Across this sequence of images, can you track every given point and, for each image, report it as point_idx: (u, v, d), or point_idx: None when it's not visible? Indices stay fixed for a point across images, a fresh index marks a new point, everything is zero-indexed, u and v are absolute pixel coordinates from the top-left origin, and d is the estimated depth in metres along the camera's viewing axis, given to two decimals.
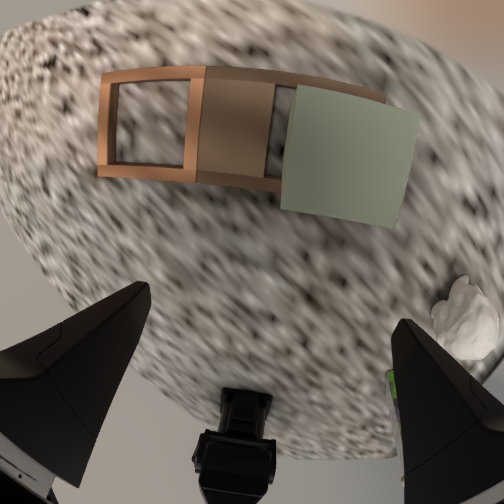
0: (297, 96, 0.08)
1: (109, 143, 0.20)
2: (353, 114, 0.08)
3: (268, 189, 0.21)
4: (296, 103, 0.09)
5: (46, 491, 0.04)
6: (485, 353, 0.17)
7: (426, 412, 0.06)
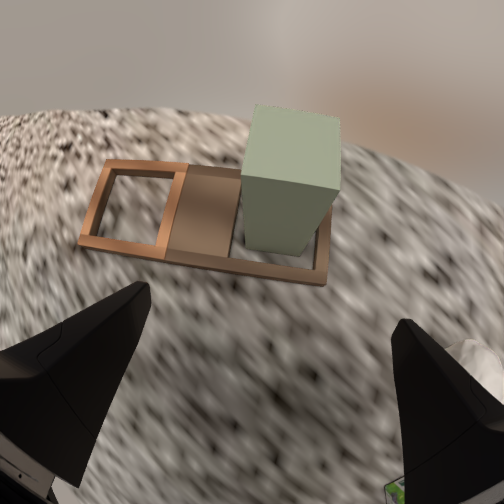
0: (254, 110, 0.14)
1: (95, 217, 0.24)
2: (292, 118, 0.13)
3: (231, 268, 0.22)
4: (254, 114, 0.14)
5: (46, 491, 0.04)
6: (498, 392, 0.13)
7: (426, 412, 0.06)
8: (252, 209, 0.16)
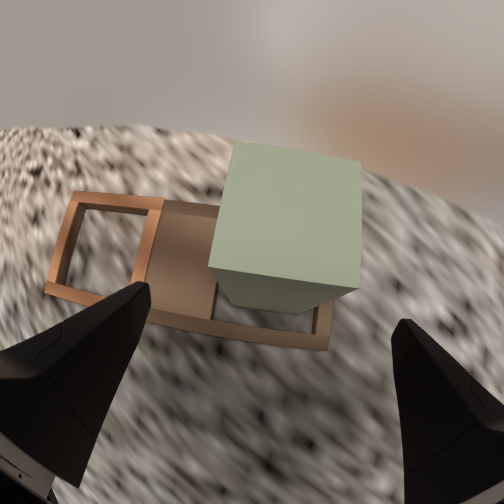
0: (233, 151, 0.09)
1: (62, 261, 0.19)
2: (290, 164, 0.09)
3: (215, 333, 0.18)
4: (232, 158, 0.09)
5: (46, 491, 0.04)
6: None
7: (426, 412, 0.06)
8: (233, 288, 0.12)
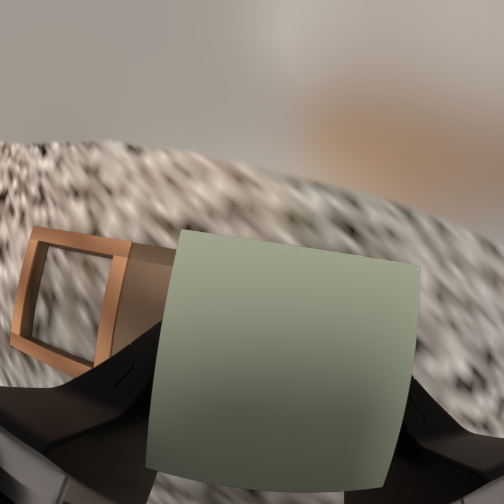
0: (178, 253, 0.05)
1: (25, 311, 0.15)
2: (289, 284, 0.05)
3: None
4: (175, 267, 0.05)
5: None
6: None
7: None
8: None
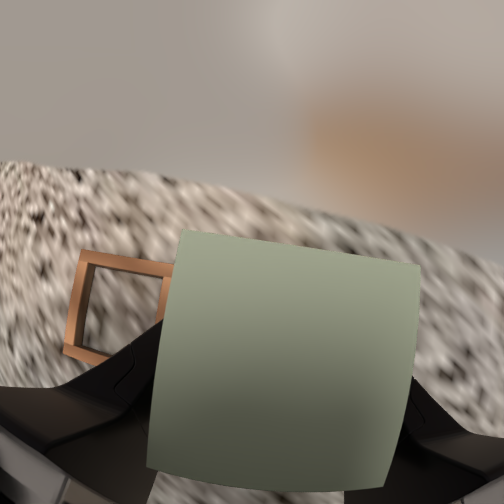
0: (179, 253, 0.05)
1: (78, 324, 0.20)
2: (290, 284, 0.05)
3: None
4: (176, 267, 0.05)
5: None
6: None
7: None
8: None
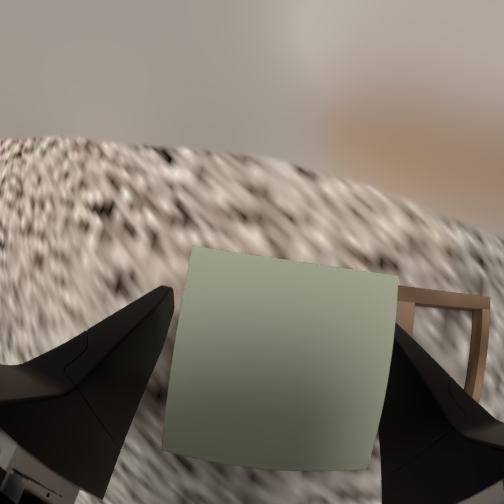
0: (190, 266, 0.06)
1: None
2: (284, 293, 0.06)
3: None
4: (188, 278, 0.06)
5: None
6: None
7: (403, 414, 0.06)
8: None
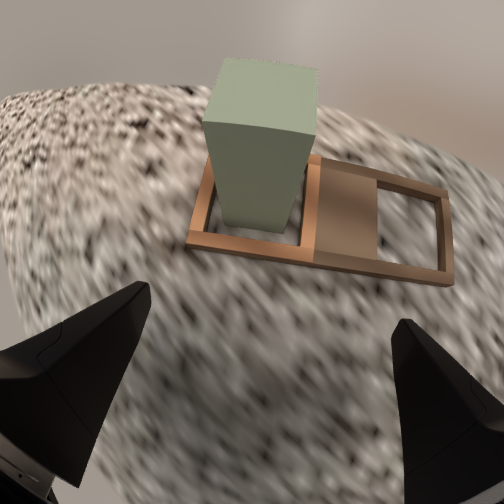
0: (224, 63, 0.12)
1: (208, 210, 0.21)
2: (264, 68, 0.11)
3: (381, 271, 0.20)
4: (223, 66, 0.11)
5: (46, 491, 0.04)
6: None
7: (426, 412, 0.06)
8: (222, 168, 0.14)
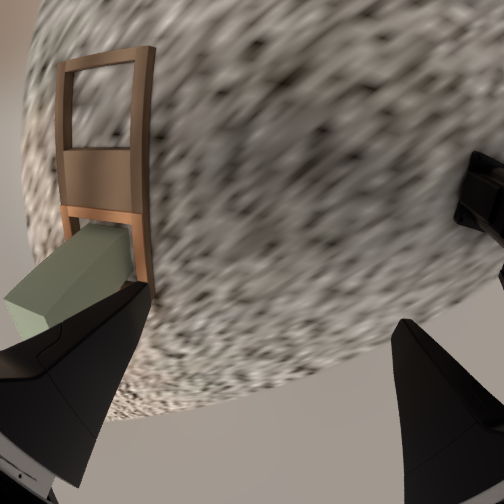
0: None
1: (124, 287, 0.25)
2: (21, 328, 0.14)
3: (139, 144, 0.19)
4: None
5: (46, 491, 0.04)
6: None
7: (426, 412, 0.06)
8: None
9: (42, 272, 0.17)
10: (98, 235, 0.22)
